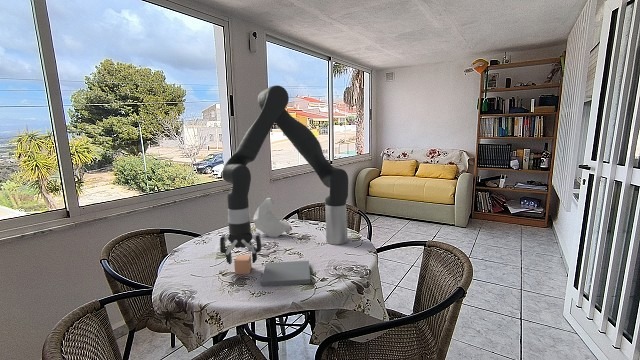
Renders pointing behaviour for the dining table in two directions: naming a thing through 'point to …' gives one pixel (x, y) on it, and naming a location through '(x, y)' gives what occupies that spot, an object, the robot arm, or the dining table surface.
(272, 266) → the mat
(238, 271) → the cube
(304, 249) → the dining table surface
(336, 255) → the dining table surface
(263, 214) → the chicken
